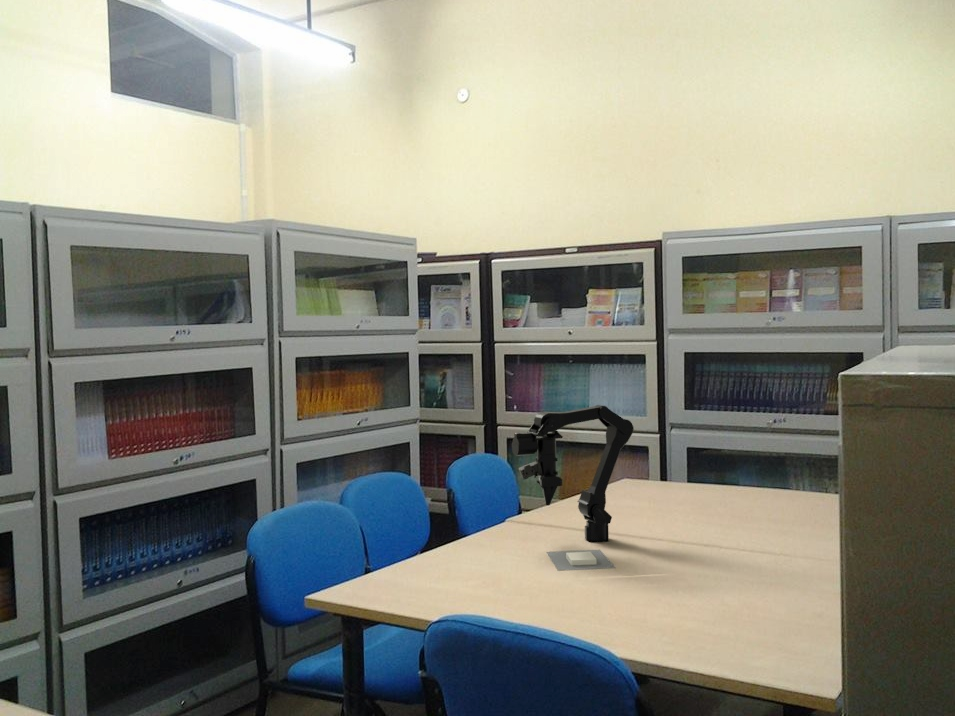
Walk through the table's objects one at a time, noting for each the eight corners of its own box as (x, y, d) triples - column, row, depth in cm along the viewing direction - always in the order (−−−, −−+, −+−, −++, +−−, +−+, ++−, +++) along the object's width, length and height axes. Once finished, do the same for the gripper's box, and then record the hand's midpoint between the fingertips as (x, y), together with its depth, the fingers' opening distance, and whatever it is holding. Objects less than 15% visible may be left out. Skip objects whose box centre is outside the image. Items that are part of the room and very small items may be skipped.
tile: (590, 551, 246) (596, 559, 238) (590, 557, 246) (596, 564, 238) (566, 552, 246) (571, 560, 238) (566, 558, 246) (571, 565, 238)
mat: (599, 550, 254) (599, 549, 254) (616, 569, 234) (616, 567, 234) (546, 553, 253) (546, 551, 253) (557, 572, 233) (557, 570, 233)
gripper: (516, 450, 269) (517, 500, 269) (524, 459, 250) (525, 512, 251) (551, 449, 270) (552, 498, 270) (562, 457, 251) (563, 511, 252)
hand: (547, 505), depth 261 cm, fingers closed
